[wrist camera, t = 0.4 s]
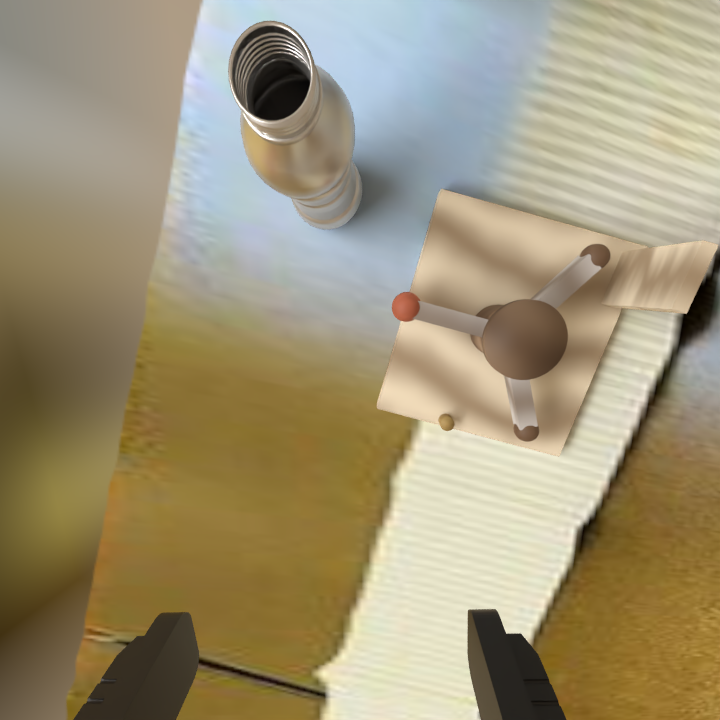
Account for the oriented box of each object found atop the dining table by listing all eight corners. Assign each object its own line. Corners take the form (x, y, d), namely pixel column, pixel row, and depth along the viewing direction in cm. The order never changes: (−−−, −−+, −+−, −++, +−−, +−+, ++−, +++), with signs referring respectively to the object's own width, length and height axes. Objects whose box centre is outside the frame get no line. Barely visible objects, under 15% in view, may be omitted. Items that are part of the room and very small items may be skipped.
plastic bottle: (366, 163, 33) (359, -19, 13) (359, 237, 34) (342, 172, 15) (299, 155, 33) (193, -37, 13) (294, 230, 34) (191, 156, 15)
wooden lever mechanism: (438, 193, 33) (464, 156, 24) (638, 249, 34) (740, 234, 24) (376, 403, 38) (378, 441, 28) (553, 450, 38) (612, 503, 29)
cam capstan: (417, 204, 32) (430, 182, 25) (588, 251, 32) (645, 242, 25) (366, 388, 36) (364, 412, 29) (519, 429, 36) (552, 461, 29)
